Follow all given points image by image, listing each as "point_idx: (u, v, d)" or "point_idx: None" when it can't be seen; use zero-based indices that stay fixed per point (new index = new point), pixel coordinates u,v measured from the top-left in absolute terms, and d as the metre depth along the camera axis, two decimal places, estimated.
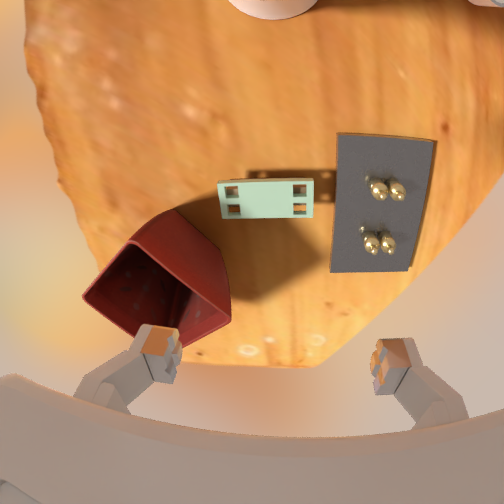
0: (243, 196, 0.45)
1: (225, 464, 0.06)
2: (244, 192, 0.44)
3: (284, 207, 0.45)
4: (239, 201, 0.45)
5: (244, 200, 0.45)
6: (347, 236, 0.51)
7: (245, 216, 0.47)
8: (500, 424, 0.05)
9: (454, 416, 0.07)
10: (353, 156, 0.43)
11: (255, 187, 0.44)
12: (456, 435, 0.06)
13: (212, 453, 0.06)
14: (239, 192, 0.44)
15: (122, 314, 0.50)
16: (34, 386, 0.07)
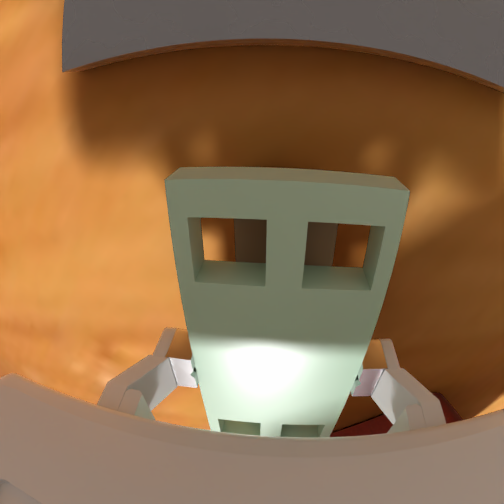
0: (253, 415, 0.12)
1: (225, 464, 0.06)
2: (240, 412, 0.12)
3: (319, 325, 0.09)
4: (272, 423, 0.12)
5: (270, 415, 0.12)
6: (503, 33, 0.06)
7: (331, 417, 0.12)
8: (500, 424, 0.05)
9: (430, 421, 0.07)
10: None
11: (220, 390, 0.11)
12: (456, 435, 0.06)
13: (212, 453, 0.06)
14: (240, 419, 0.12)
15: None
16: (34, 386, 0.07)
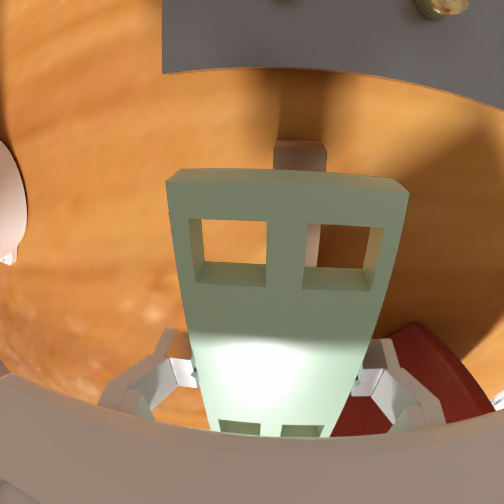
0: (253, 415, 0.12)
1: (225, 464, 0.06)
2: (240, 412, 0.12)
3: (319, 325, 0.09)
4: (272, 423, 0.12)
5: (270, 416, 0.12)
6: (433, 53, 0.14)
7: (331, 418, 0.12)
8: (500, 424, 0.05)
9: (430, 421, 0.07)
10: (210, 34, 0.15)
11: (220, 391, 0.11)
12: (456, 435, 0.06)
13: (212, 453, 0.06)
14: (240, 419, 0.12)
15: None
16: (34, 386, 0.07)
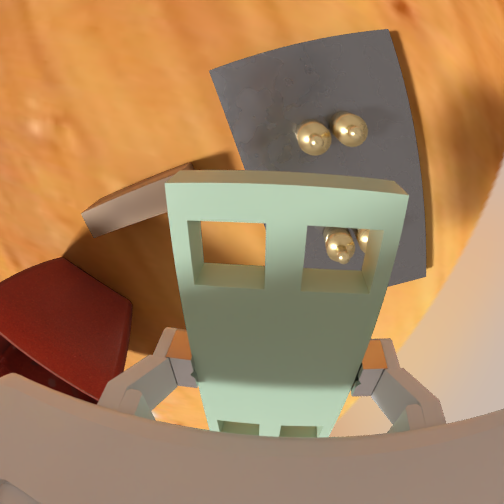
0: (252, 416, 0.12)
1: (225, 464, 0.06)
2: (239, 413, 0.12)
3: (317, 327, 0.09)
4: (271, 424, 0.12)
5: (269, 417, 0.12)
6: None
7: (329, 419, 0.12)
8: (500, 424, 0.05)
9: (430, 421, 0.07)
10: (249, 96, 0.23)
11: (219, 392, 0.11)
12: (456, 435, 0.06)
13: (212, 453, 0.06)
14: (239, 420, 0.12)
15: None
16: (34, 386, 0.07)
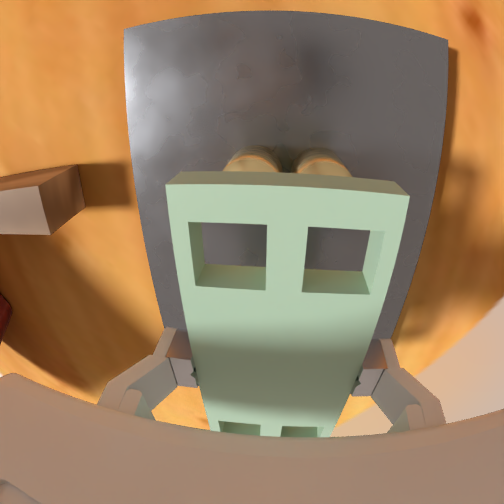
0: (253, 417, 0.12)
1: (225, 464, 0.06)
2: (240, 414, 0.12)
3: (319, 328, 0.09)
4: (272, 425, 0.12)
5: (270, 417, 0.12)
6: None
7: (330, 419, 0.12)
8: (500, 424, 0.05)
9: (430, 421, 0.07)
10: (170, 81, 0.12)
11: (220, 392, 0.11)
12: (456, 435, 0.06)
13: (212, 453, 0.06)
14: (240, 421, 0.12)
15: None
16: (34, 386, 0.07)
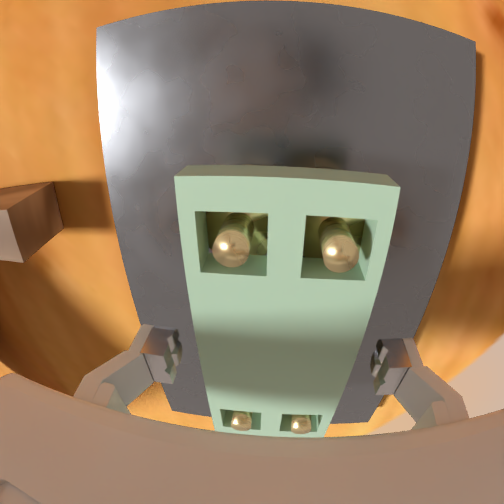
0: (254, 404, 0.13)
1: (225, 464, 0.06)
2: (242, 401, 0.13)
3: (317, 313, 0.10)
4: (273, 413, 0.13)
5: (270, 405, 0.13)
6: (185, 351, 0.17)
7: (329, 407, 0.12)
8: (500, 424, 0.05)
9: (454, 416, 0.07)
10: (147, 87, 0.10)
11: (223, 379, 0.12)
12: (456, 435, 0.06)
13: (212, 453, 0.06)
14: (241, 409, 0.13)
15: None
16: (34, 386, 0.07)
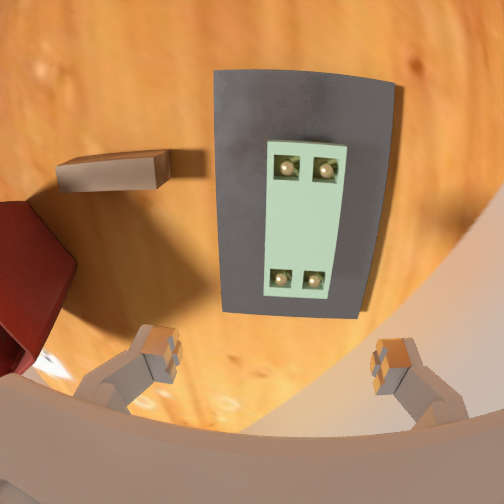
0: (289, 262, 0.26)
1: (225, 464, 0.06)
2: (283, 260, 0.26)
3: (319, 199, 0.23)
4: (299, 270, 0.27)
5: (298, 262, 0.26)
6: (243, 252, 0.31)
7: (329, 264, 0.26)
8: (500, 424, 0.05)
9: (454, 416, 0.07)
10: (241, 105, 0.24)
11: (275, 242, 0.26)
12: (456, 435, 0.06)
13: (212, 453, 0.06)
14: (282, 267, 0.27)
15: None
16: (34, 386, 0.07)
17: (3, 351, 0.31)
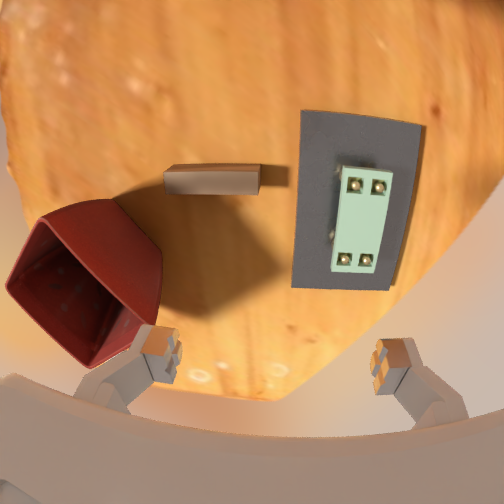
0: (351, 247, 0.37)
1: (225, 464, 0.06)
2: (347, 246, 0.37)
3: (373, 205, 0.34)
4: (357, 253, 0.38)
5: (357, 247, 0.37)
6: (312, 241, 0.42)
7: (376, 249, 0.37)
8: (500, 424, 0.05)
9: (454, 416, 0.07)
10: (320, 137, 0.35)
11: (343, 234, 0.37)
12: (456, 435, 0.06)
13: (212, 453, 0.06)
14: (346, 251, 0.38)
15: (47, 314, 0.38)
16: (34, 386, 0.07)
17: (84, 335, 0.42)
